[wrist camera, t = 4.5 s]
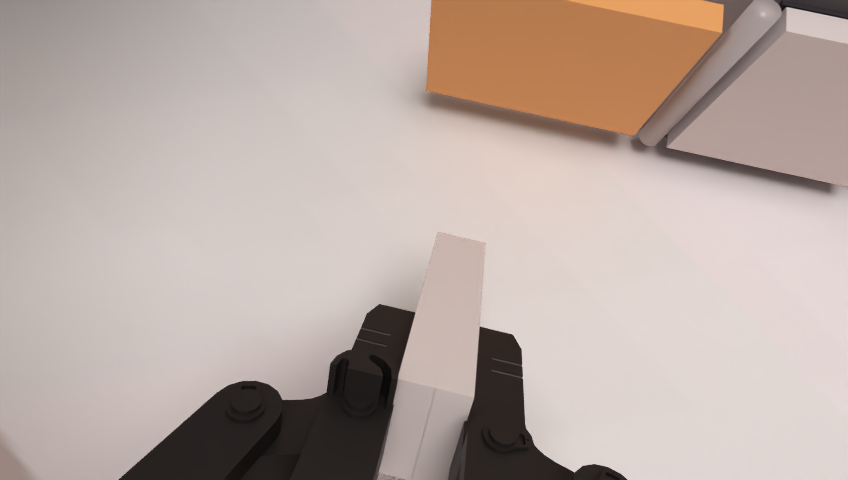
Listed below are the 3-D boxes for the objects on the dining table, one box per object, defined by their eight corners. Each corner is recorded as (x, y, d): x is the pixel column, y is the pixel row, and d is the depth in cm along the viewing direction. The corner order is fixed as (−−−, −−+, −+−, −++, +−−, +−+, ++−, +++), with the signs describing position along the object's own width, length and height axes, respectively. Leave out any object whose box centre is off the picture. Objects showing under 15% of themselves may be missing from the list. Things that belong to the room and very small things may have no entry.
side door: (425, 99, 25) (434, -45, 17) (431, 78, 25) (441, -71, 17) (852, 192, 24) (1076, 88, 16) (852, 169, 24) (1070, 57, 16)
